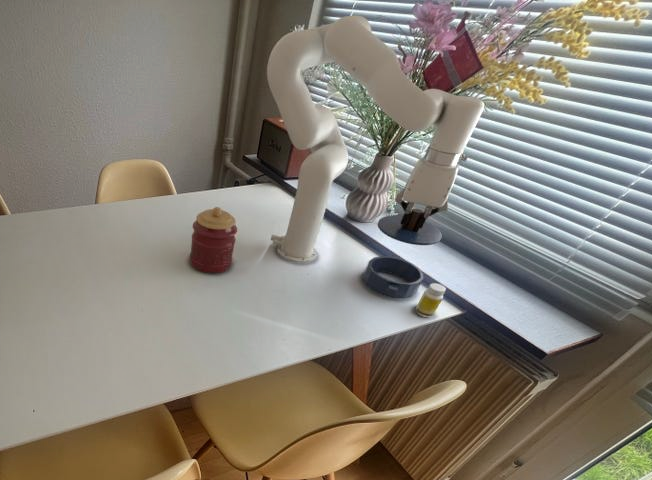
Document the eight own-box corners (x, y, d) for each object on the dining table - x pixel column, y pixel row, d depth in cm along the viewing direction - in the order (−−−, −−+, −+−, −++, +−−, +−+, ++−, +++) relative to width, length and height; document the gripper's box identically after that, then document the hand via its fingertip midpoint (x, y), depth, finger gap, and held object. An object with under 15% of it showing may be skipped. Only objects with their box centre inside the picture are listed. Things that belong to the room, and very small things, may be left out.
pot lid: (374, 238, 113) (383, 215, 109) (379, 214, 124) (387, 193, 120) (440, 253, 109) (452, 230, 104) (439, 227, 120) (449, 206, 115)
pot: (358, 295, 123) (365, 280, 120) (365, 262, 138) (371, 247, 134) (414, 310, 120) (423, 294, 116) (415, 275, 134) (423, 260, 130)
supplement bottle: (434, 319, 117) (449, 293, 112) (416, 316, 118) (430, 290, 112) (430, 308, 121) (445, 283, 115) (413, 306, 121) (426, 280, 115)
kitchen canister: (210, 279, 125) (217, 222, 113) (180, 260, 132) (184, 204, 120) (240, 265, 132) (250, 210, 120) (210, 248, 139) (217, 194, 127)
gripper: (477, 158, 103) (441, 229, 116) (407, 146, 108) (379, 216, 120) (480, 168, 98) (442, 241, 111) (406, 155, 102) (377, 227, 115)
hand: (409, 227), depth 115 cm, fingers closed on pot lid, 2 cm apart
